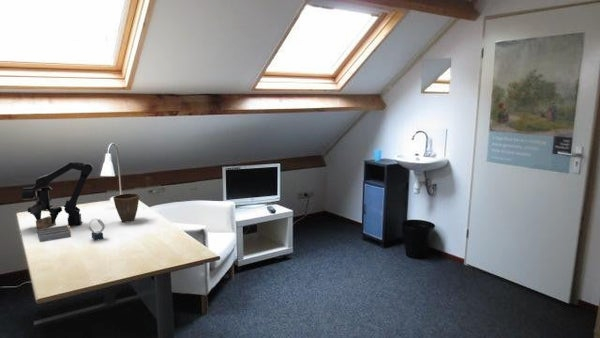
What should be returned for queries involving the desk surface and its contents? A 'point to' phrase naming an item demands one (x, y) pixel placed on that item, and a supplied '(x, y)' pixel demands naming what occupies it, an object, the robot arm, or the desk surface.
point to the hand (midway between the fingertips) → (46, 223)
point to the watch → (97, 234)
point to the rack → (54, 233)
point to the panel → (44, 223)
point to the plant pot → (126, 206)
